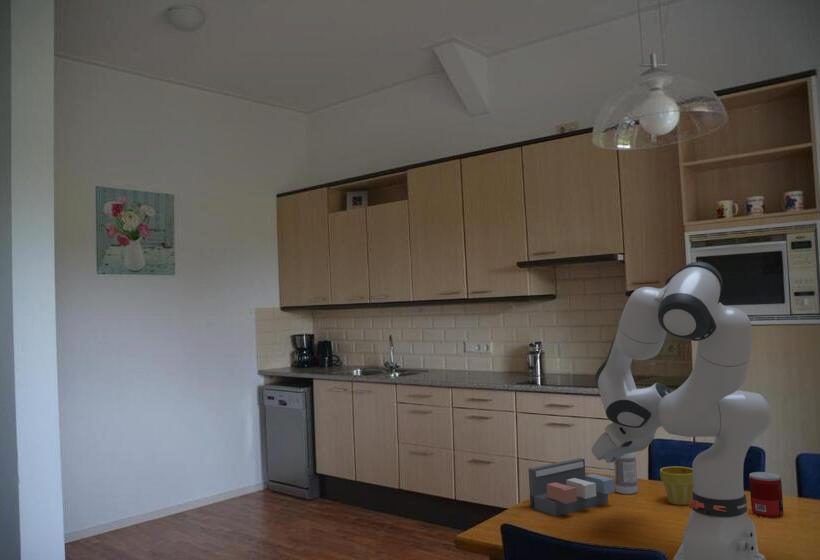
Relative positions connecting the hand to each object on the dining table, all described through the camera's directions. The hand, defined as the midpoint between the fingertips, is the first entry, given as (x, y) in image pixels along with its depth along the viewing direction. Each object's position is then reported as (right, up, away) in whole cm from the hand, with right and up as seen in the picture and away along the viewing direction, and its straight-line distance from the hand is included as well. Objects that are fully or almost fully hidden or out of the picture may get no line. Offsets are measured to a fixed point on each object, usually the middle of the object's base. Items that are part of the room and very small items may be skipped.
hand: (609, 460), depth 188 cm
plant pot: (+26, -17, +13) cm, 33 cm away
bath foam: (+14, -18, +26) cm, 35 cm away
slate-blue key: (+1, -13, +14) cm, 19 cm away
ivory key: (-6, -13, +10) cm, 18 cm away
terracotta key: (-12, -13, +6) cm, 19 cm away
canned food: (+44, -15, -2) cm, 47 cm away
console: (-8, -18, +15) cm, 25 cm away
